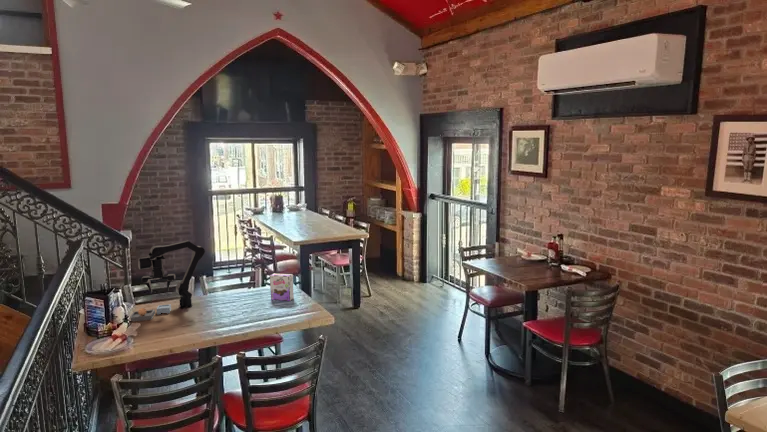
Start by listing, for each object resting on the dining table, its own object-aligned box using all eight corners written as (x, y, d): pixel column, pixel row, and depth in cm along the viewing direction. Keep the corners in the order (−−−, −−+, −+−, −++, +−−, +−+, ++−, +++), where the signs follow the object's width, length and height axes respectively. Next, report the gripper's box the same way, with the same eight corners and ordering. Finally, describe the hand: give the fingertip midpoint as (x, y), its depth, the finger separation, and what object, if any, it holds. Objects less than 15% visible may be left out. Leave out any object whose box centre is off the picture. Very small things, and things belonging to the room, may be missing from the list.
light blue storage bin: (171, 309, 325) (170, 304, 324) (169, 313, 318) (169, 307, 318) (158, 310, 323) (158, 305, 323) (156, 314, 316) (156, 308, 316)
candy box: (270, 300, 339) (269, 275, 337) (275, 297, 345) (273, 272, 343) (290, 301, 335) (288, 276, 333) (294, 298, 341) (292, 273, 339)
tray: (155, 313, 318) (154, 309, 318) (151, 319, 307) (151, 315, 307) (133, 315, 315) (133, 311, 315) (129, 321, 304) (129, 317, 304)
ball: (147, 314, 314) (146, 307, 313) (145, 316, 309) (145, 309, 309) (139, 314, 313) (138, 307, 312) (137, 316, 308) (137, 309, 308)
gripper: (175, 262, 329) (177, 287, 331) (143, 265, 325) (145, 290, 327) (173, 266, 319) (175, 291, 321) (139, 269, 314) (142, 294, 316)
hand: (159, 291), depth 321 cm, fingers open, 9 cm apart
